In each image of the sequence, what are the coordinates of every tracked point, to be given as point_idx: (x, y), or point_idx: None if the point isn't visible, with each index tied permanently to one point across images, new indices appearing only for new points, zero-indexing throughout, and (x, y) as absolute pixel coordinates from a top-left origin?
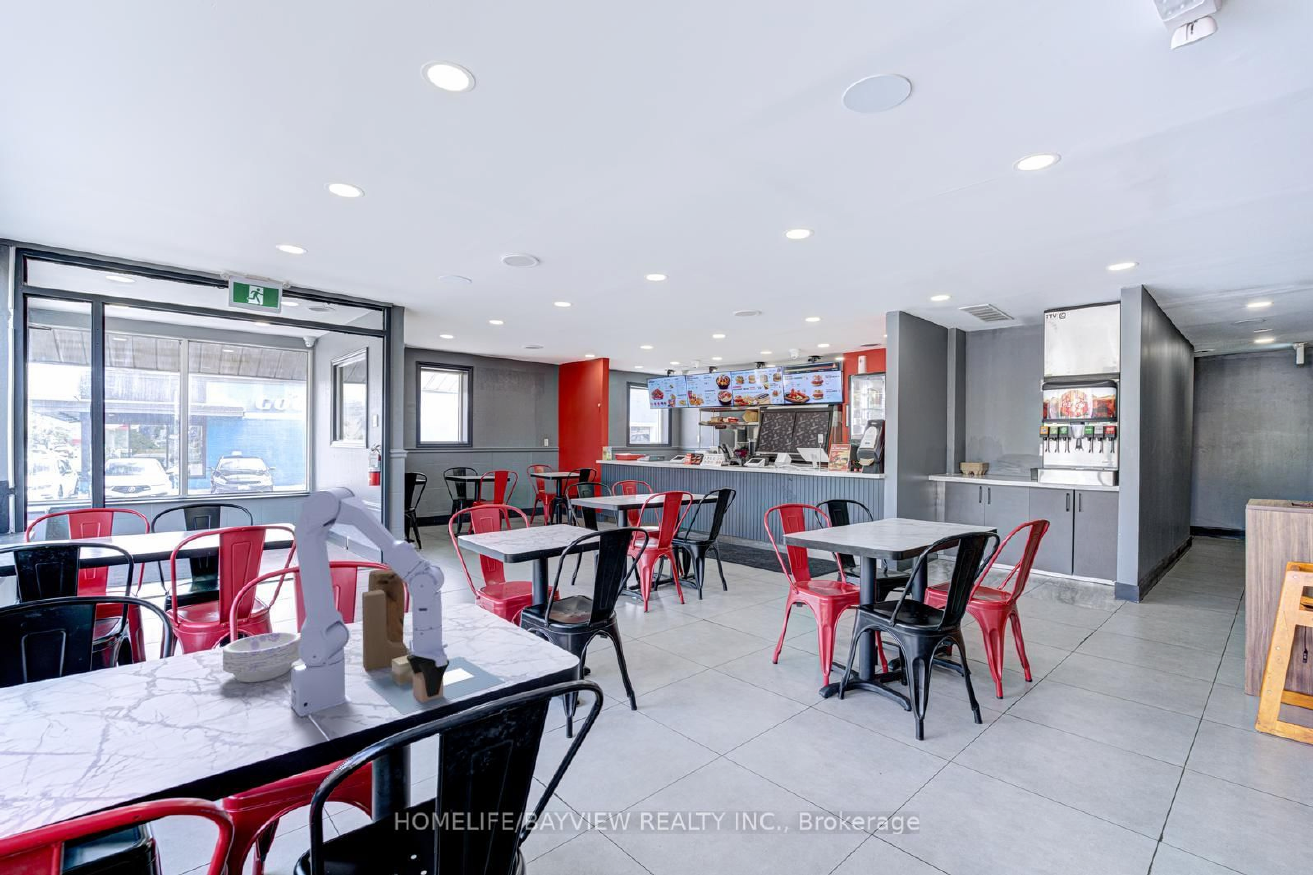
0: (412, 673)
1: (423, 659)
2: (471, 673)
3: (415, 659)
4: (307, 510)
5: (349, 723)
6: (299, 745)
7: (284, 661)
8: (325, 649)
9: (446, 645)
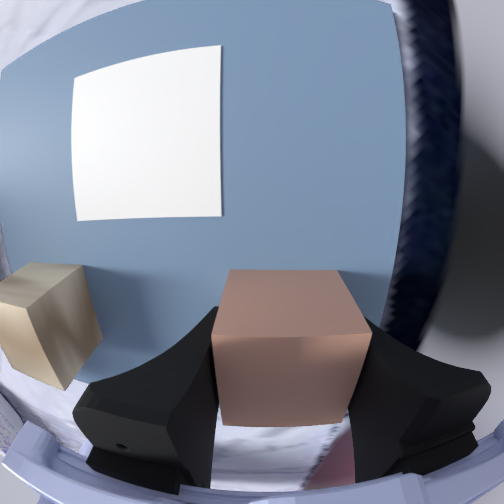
0: (71, 312)
1: (199, 449)
2: (163, 44)
3: (204, 482)
4: None
5: (268, 455)
6: (289, 486)
7: (2, 423)
8: None
9: (426, 501)
